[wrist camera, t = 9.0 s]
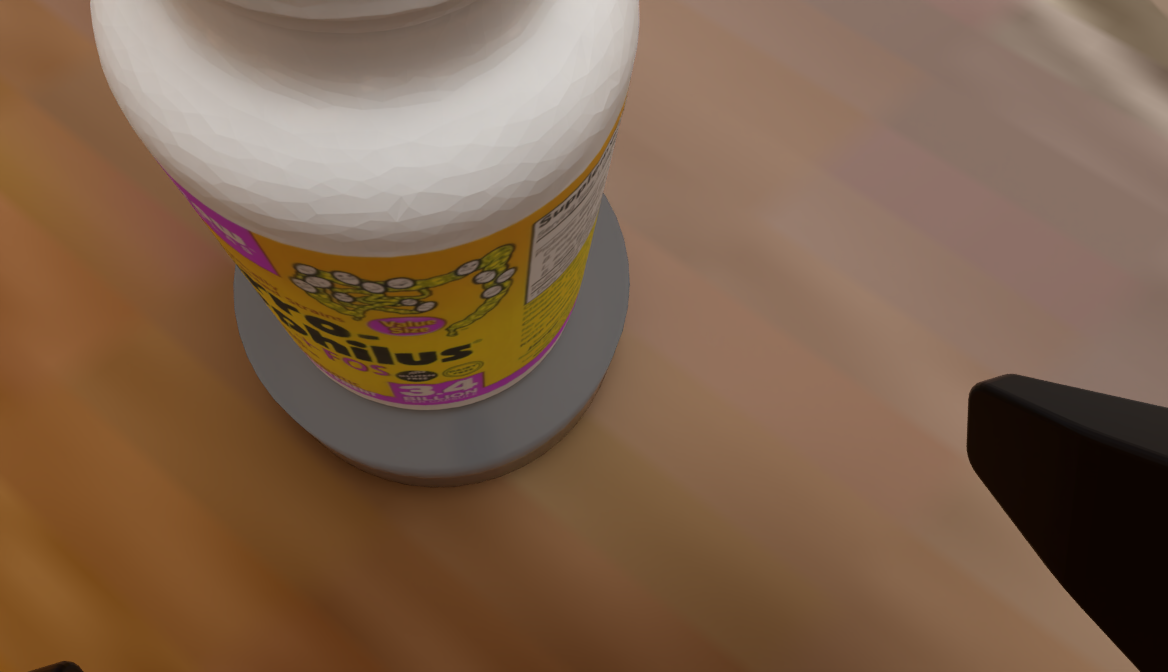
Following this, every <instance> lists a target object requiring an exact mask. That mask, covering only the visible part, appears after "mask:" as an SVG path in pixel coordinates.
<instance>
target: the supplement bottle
mask: <svg viewBox="0 0 1168 672" xmlns="http://www.w3.org/2000/svg"><path fill="white" fill-rule="evenodd" d="M90 7H91V16H92V24H93V30H94V36H95V42H96V46H97V50H98V54H99V57H100V61H101V65H102V68H103V71H104V74H105V76H106V79H107V81H108V84H109V87H110V89H111V91H112V93H113V95H114V97H115V98H116V100H117V102H118V104H119V106H120V108H121V109H122V111H123V113H124V114H125V116H126V118H127V120H128V121H129V123H130V125H131V126H132V128H133V129H134V131H135V132H136V134H137V135H138V136H139V138H140V139H141V140H142V142H143V143H144V144H145V146H146V147H147V149H148V150H149V151H150V153H151V154H152V155H153V157H154V158H155V159H156V160H157V162H158V163H159V164H160V166H161V167H162V168H163V170H164V171H165V172H166V173H167V175H168V176H169V177H170V179H171V180H172V181H173V182H174V184H175V185H176V186H177V187H178V189H179V190H180V191H181V192H182V194H183V195H184V196H185V197H186V198H187V200H188V201H189V202H190V204H191V205H192V206H193V208H194V209H195V210H196V212H197V213H198V214H199V216H200V217H201V218H202V220H203V221H204V222H205V224H206V225H207V226H208V228H209V229H210V230H211V232H212V233H213V234H214V236H215V237H216V238H217V240H218V241H219V242H220V244H221V245H222V246H223V248H224V249H225V251H226V252H227V253H228V255H229V256H230V257H231V258H232V259H233V261H234V262H235V263H236V265H237V266H238V268H239V269H240V270H241V272H242V273H243V275H244V276H245V277H246V278H247V279H248V280H249V282H250V283H251V284H252V286H253V287H254V288H255V290H256V291H257V293H258V294H259V295H260V297H261V298H262V299H263V301H264V302H265V303H266V305H267V306H268V307H269V309H270V310H271V311H272V312H273V314H274V315H275V316H276V318H277V319H278V320H279V322H280V323H281V324H282V326H283V327H284V328H285V329H286V331H287V332H288V333H289V335H290V336H291V337H292V338H293V340H294V341H295V343H296V344H297V345H298V346H299V347H300V349H301V350H302V351H303V352H304V353H305V354H306V355H307V357H308V358H309V359H310V360H311V361H312V362H313V363H314V364H315V365H316V366H317V367H318V368H319V369H320V370H321V371H322V372H323V373H324V374H325V375H327V376H328V377H329V378H330V379H332V380H333V381H335V382H336V383H338V384H339V385H341V386H342V387H344V388H346V389H347V390H349V391H351V392H353V393H355V394H357V395H359V396H361V397H363V398H366V399H369V400H372V401H375V402H378V403H381V404H385V405H388V406H393V407H398V408H404V409H413V410H439V409H447V408H454V407H460V406H464V405H468V404H472V403H475V402H478V401H481V400H484V399H486V398H489V397H491V396H493V395H495V394H498V393H500V392H501V391H503V390H505V389H507V388H509V387H510V386H512V385H514V384H515V383H517V382H518V381H519V380H521V379H522V378H523V377H525V376H526V375H527V374H528V373H530V372H531V371H532V370H533V369H534V368H535V367H536V366H537V365H538V364H539V363H540V362H541V361H542V360H543V359H544V358H545V357H546V355H547V354H548V353H549V352H550V351H551V349H552V348H553V346H554V345H555V343H556V342H557V340H558V339H559V337H560V336H561V334H562V332H563V330H564V328H565V326H566V324H567V322H568V320H569V318H570V315H571V313H572V310H573V308H574V306H575V303H576V300H577V296H578V293H579V290H580V286H581V282H582V279H583V275H584V270H585V266H586V262H587V257H588V254H589V250H590V246H591V241H592V237H593V233H594V229H595V225H596V221H597V217H598V213H599V208H600V204H601V199H602V195H603V191H604V187H605V183H606V179H607V175H608V170H609V166H610V162H611V158H612V154H613V150H614V146H615V142H616V138H617V133H618V129H619V126H620V122H621V118H622V114H623V111H624V107H625V104H626V100H627V93H628V89H629V85H630V80H631V75H632V70H633V65H634V60H635V55H636V50H637V45H638V35H639V0H91V3H90Z"/></svg>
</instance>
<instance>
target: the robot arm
mask: <svg viewBox="0 0 1168 672" xmlns="http://www.w3.org/2000/svg"><path fill="white" fill-rule="evenodd" d="M967 454H968V458H969V461H970V464H971V465H972V467H973V469H974V471H975V472H976V474H977V475H978V477H979V478H980V479H981V481H982V482H983V483H984V485H985V486H986V487H987V488H988V490H989V491H990V492H991V494H992V495H993V496H994V498H995V499H996V500H997V502H998V503H999V504H1000V506H1001V507H1002V508H1003V510H1004V511H1005V512H1006V514H1007V515H1008V516H1009V518H1010V519H1011V520H1012V522H1013V523H1014V524H1015V526H1016V527H1017V528H1018V529H1019V531H1020V532H1021V533H1022V535H1023V536H1024V537H1025V539H1026V540H1027V541H1028V543H1029V544H1030V545H1031V547H1032V548H1033V549H1034V551H1035V552H1036V553H1037V555H1038V556H1039V557H1040V559H1041V560H1042V561H1043V563H1044V564H1045V565H1046V567H1047V568H1048V569H1049V570H1050V572H1051V573H1052V574H1053V575H1054V577H1055V578H1056V579H1057V580H1058V581H1059V583H1060V584H1061V585H1062V586H1063V588H1064V589H1065V590H1066V591H1067V592H1068V593H1069V594H1070V596H1071V597H1072V598H1073V599H1074V600H1075V601H1076V602H1077V604H1078V605H1079V606H1080V607H1081V608H1082V609H1083V610H1084V611H1085V612H1086V613H1087V614H1088V616H1089V617H1090V618H1091V619H1092V620H1093V621H1094V622H1095V623H1096V624H1097V625H1098V626H1099V627H1100V629H1101V630H1102V631H1103V632H1104V633H1105V634H1106V635H1107V636H1108V637H1109V638H1110V639H1111V640H1112V642H1113V643H1114V644H1115V645H1116V646H1117V647H1118V648H1119V649H1120V650H1121V651H1122V652H1123V653H1124V655H1125V656H1126V657H1127V658H1128V659H1129V660H1130V661H1131V662H1132V663H1133V664H1134V665H1135V666H1136V668H1137V669H1138V670H1139V671H1140V672H1168V408H1166V407H1162V406H1157V405H1153V404H1148V403H1144V402H1139V401H1134V400H1130V399H1125V398H1121V397H1116V396H1112V395H1107V394H1103V393H1098V392H1094V391H1089V390H1085V389H1080V388H1076V387H1071V386H1067V385H1062V384H1057V383H1053V382H1048V381H1044V380H1039V379H1035V378H1030V377H1026V376H1021V375H1017V374H1005V375H1002V376H998V377H995V378H992V379H989V380H985V381H982V382H979V383H977V384H976V385H974V386H973V387H972V389H971V391H970V393H969V399H968V423H967ZM29 672H83V671H82V669H81V668H80V667H79V666H78V665H76V664H75V663H73V662H69V661H62V662H58V663H55V664H52V665H48V666H45V667H42V668H38V669H35V670H32V671H29Z"/></svg>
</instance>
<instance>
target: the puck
mask: <svg viewBox="0 0 1168 672" xmlns="http://www.w3.org/2000/svg"><path fill="white" fill-rule="evenodd" d="M629 286H630V282H629V264H628V257H627V252H626V247H625V242H624V238H623V235H622V232H621V229H620V226H619V223H618V220H617V218H616V215H615V213H614V211H613V210H612V208H611V206H610V204H609V202H608V200H607V198H606V196H605V195H604V193H603V195H602V199H601V204H600V208H599V213H598V217H597V221H596V225H595V229H594V233H593V237H592V241H591V246H590V250H589V254H588V257H587V262H586V266H585V270H584V275H583V279H582V282H581V286H580V290H579V293H578V296H577V300H576V303H575V306H574V308H573V310H572V313H571V315H570V318H569V320H568V322H567V324H566V326H565V328H564V330H563V332H562V334H561V336H560V337H559V339H558V340H557V342H556V343H555V345H554V346H553V348H552V349H551V351H550V352H549V353H548V354H547V355H546V357H545V358H544V359H543V360H542V361H541V362H540V363H539V364H538V365H537V366H536V367H535V368H534V369H533V370H532V371H531V372H530V373H528V374H527V375H526V376H525V377H523V378H522V379H521V380H519V381H518V382H517V383H515V384H514V385H512V386H510V387H509V388H507V389H505V390H503V391H501V392H500V393H498V394H495V395H493V396H491V397H489V398H486V399H484V400H481V401H478V402H475V403H472V404H468V405H464V406H460V407H454V408H447V409H439V410H413V409H404V408H398V407H393V406H388V405H385V404H381V403H378V402H375V401H372V400H369V399H366V398H363V397H361V396H359V395H357V394H355V393H353V392H351V391H349V390H347V389H346V388H344V387H342V386H341V385H339V384H338V383H336V382H335V381H333V380H332V379H330V378H329V377H328V376H327V375H325V374H324V373H323V372H322V371H321V370H320V369H319V368H318V367H317V366H316V365H315V364H314V363H313V362H312V361H311V360H310V359H309V358H308V357H307V355H306V354H305V353H304V352H303V351H302V350H301V349H300V347H299V346H298V345H297V344H296V343H295V341H294V340H293V338H292V337H291V336H290V335H289V333H288V332H287V331H286V329H285V328H284V327H283V326H282V324H281V323H280V322H279V320H278V319H277V318H276V316H275V315H274V314H273V312H272V311H271V310H270V309H269V307H268V306H267V305H266V303H265V302H264V301H263V299H262V298H261V297H260V295H259V294H258V293H257V291H256V290H255V288H254V287H253V286H252V284H251V283H250V282H249V280H248V279H247V278H246V277H245V276H244V275H243V273H242V272H241V270H240V269H239V268H238V266H237V265H235V275H234V307H235V314H236V319H237V324H238V329H239V334H240V337H241V340H242V343H243V345H244V348H245V351H246V354H247V357H248V359H249V361H250V362H251V364H252V366H253V368H254V370H255V372H256V374H257V376H258V377H259V379H260V381H261V382H262V383H263V385H264V386H265V387H266V389H267V390H268V392H269V393H270V394H271V396H272V397H273V398H274V400H275V401H276V402H277V403H278V404H279V405H280V406H281V407H282V408H283V409H284V410H285V411H286V412H287V413H288V414H289V415H290V416H291V417H292V418H293V419H294V420H295V421H296V422H298V423H299V424H300V425H301V426H302V427H303V428H304V429H305V430H307V431H308V432H309V433H310V434H311V435H312V436H313V437H314V438H315V439H317V440H318V441H319V442H320V443H321V444H322V445H323V446H325V447H326V448H327V449H329V450H330V451H331V452H333V453H334V454H335V455H337V456H338V457H339V458H341V459H342V460H344V461H346V462H347V463H349V464H351V465H353V466H355V467H356V468H358V469H360V470H362V471H364V472H367V473H370V474H372V475H375V476H377V477H380V478H382V479H386V480H390V481H394V482H398V483H402V484H406V485H415V486H424V487H455V486H462V485H468V484H475V483H480V482H483V481H487V480H490V479H494V478H497V477H500V476H503V475H505V474H508V473H510V472H512V471H514V470H517V469H519V468H521V467H523V466H525V465H527V464H528V463H530V462H532V461H533V460H535V459H537V458H538V457H540V456H542V455H543V454H544V453H546V452H547V451H548V450H549V449H551V448H552V447H553V446H554V445H556V444H557V443H558V442H559V441H561V440H562V439H563V438H564V437H565V436H566V435H567V433H568V432H569V431H570V430H571V429H572V428H573V427H574V426H575V425H576V424H577V423H578V421H579V420H580V419H581V417H582V416H583V415H584V413H585V412H586V410H587V409H588V408H589V406H590V405H591V403H592V401H593V399H594V397H595V395H596V394H597V392H598V390H599V388H600V386H601V384H602V381H603V379H604V376H605V374H606V371H607V369H608V367H609V364H610V362H611V359H612V357H613V355H614V352H615V349H616V347H617V344H618V341H619V339H620V336H621V333H622V331H623V326H624V322H625V317H626V313H627V309H628V298H629Z"/></svg>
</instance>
